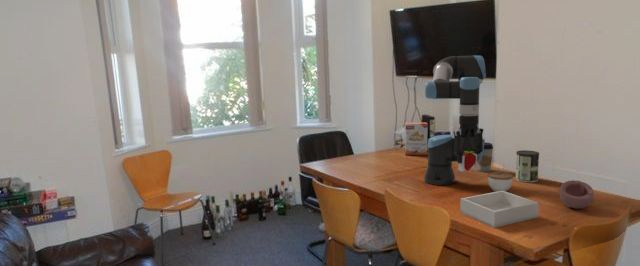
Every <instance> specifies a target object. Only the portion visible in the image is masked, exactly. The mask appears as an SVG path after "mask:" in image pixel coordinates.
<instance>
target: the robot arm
mask: <svg viewBox="0 0 640 266" xmlns="http://www.w3.org/2000/svg"><path fill="white" fill-rule="evenodd" d="M486 72H487V71H486V62H485V59H484V56H482V55H474V54H473V55H457V56H456V55H452V56H451V55H450V56H448V57H445V58H443V59H441V60H439V61H438V62H437V63H436V64H435V65H434V66H433V70H432V73H433V77H432V80H431V81H427V82H426V83H425V85H424V86H425V87H424V88H425V91H424V95H425V98H427V99H432V100H441V99H446V100H448V99H451V100H452V99H453V100H455V99H457V100H458V99H459V108H458V109H459V120H458V122H459V129H457V130H453V135H451V134H440V135H434V136H432V137H429V138H428V139H427V167H426V171H425V174H424V177H423V178H424V179H423V180H424V181H423V182H425V183H426V184H430V185H436V186H447V185H449V186H450V185H453V184H455V183H456V175H455V173H454V170H453V167H452V166H453V164H452V163H455V162H456V163H457V164H458V168H457V170H458V171H460V172H465V168H464V160H465V156H463V153H464V151H469V152H470V151H475V152H473V153H472V154H474V155H475V156H476V162H475V164H474V165H473V166H472V167H471V168H470V169H472V170H475V171H477V170H478V162H480V161H481V160H482V155H483V149H484V143H486V142H485V141H486V140H485V139H484V138H483V134H484V129H483V128H482V127H481V128H480V127H479V123H480V122H479V119H480V87H481V86H480V85H481V84H482V83H483V80H484V79H485V80H486V78H487V73H486ZM452 80H453V81H452ZM454 80H455V81H454ZM456 80H457V81H456ZM453 136H454V137H453ZM469 148H470V149H469Z"/></svg>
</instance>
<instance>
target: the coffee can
mask: <svg viewBox="0 0 640 266" xmlns="http://www.w3.org/2000/svg"><path fill="white" fill-rule="evenodd" d="M539 158H540V152H538V151H535V150H525V149H524V150H518V151H516V159H515V160H516V161H515V163H516V164H515V180H516V181H518V182H522V183H537V182H538V181H539V161H540V160H539Z"/></svg>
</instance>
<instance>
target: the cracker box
mask: <svg viewBox="0 0 640 266" xmlns="http://www.w3.org/2000/svg"><path fill="white" fill-rule="evenodd" d="M404 126H405V129H404V130H405V135H404V137H405V139H404V144H405V145H404V146H405V147H404V149H405V150H404V155H405V156H428V128H429V127H428V126H429V123H428V122H405V125H404Z"/></svg>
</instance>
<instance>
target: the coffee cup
mask: <svg viewBox="0 0 640 266" xmlns="http://www.w3.org/2000/svg"><path fill="white" fill-rule="evenodd" d="M493 149H494V145H493V143H491V142H484V149H483V155H482V160H481V161H480V162H477V170H478V172H481V173H490V172H491V169H492V167H491V166H492V159H493Z"/></svg>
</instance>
